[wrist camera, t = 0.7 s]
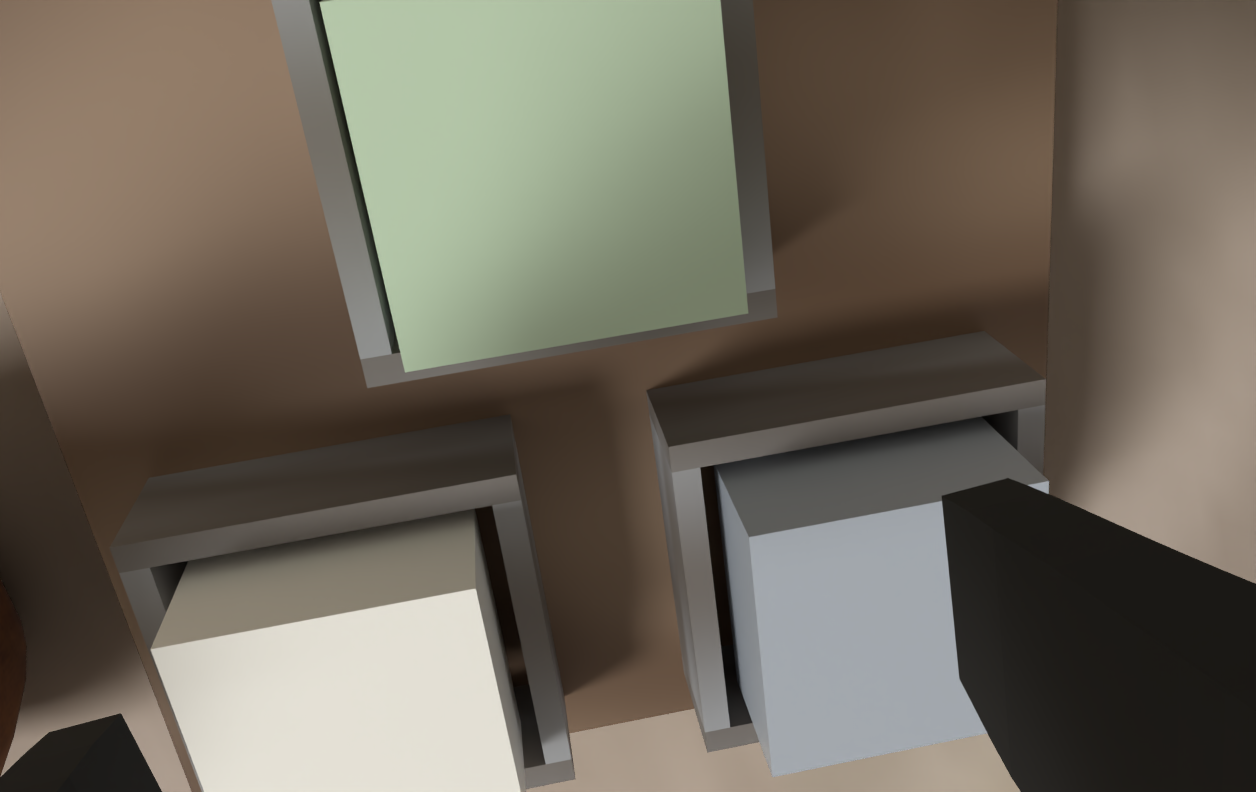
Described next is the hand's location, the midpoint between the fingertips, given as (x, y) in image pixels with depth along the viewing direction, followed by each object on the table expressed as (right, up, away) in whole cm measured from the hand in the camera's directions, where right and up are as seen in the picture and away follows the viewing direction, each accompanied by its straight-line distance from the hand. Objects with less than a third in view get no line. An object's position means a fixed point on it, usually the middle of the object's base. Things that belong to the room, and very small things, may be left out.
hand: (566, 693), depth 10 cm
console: (-1, +4, +9) cm, 10 cm away
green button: (-1, +6, +4) cm, 7 cm away
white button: (-3, -1, +7) cm, 8 cm away
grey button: (+4, 0, +7) cm, 8 cm away
